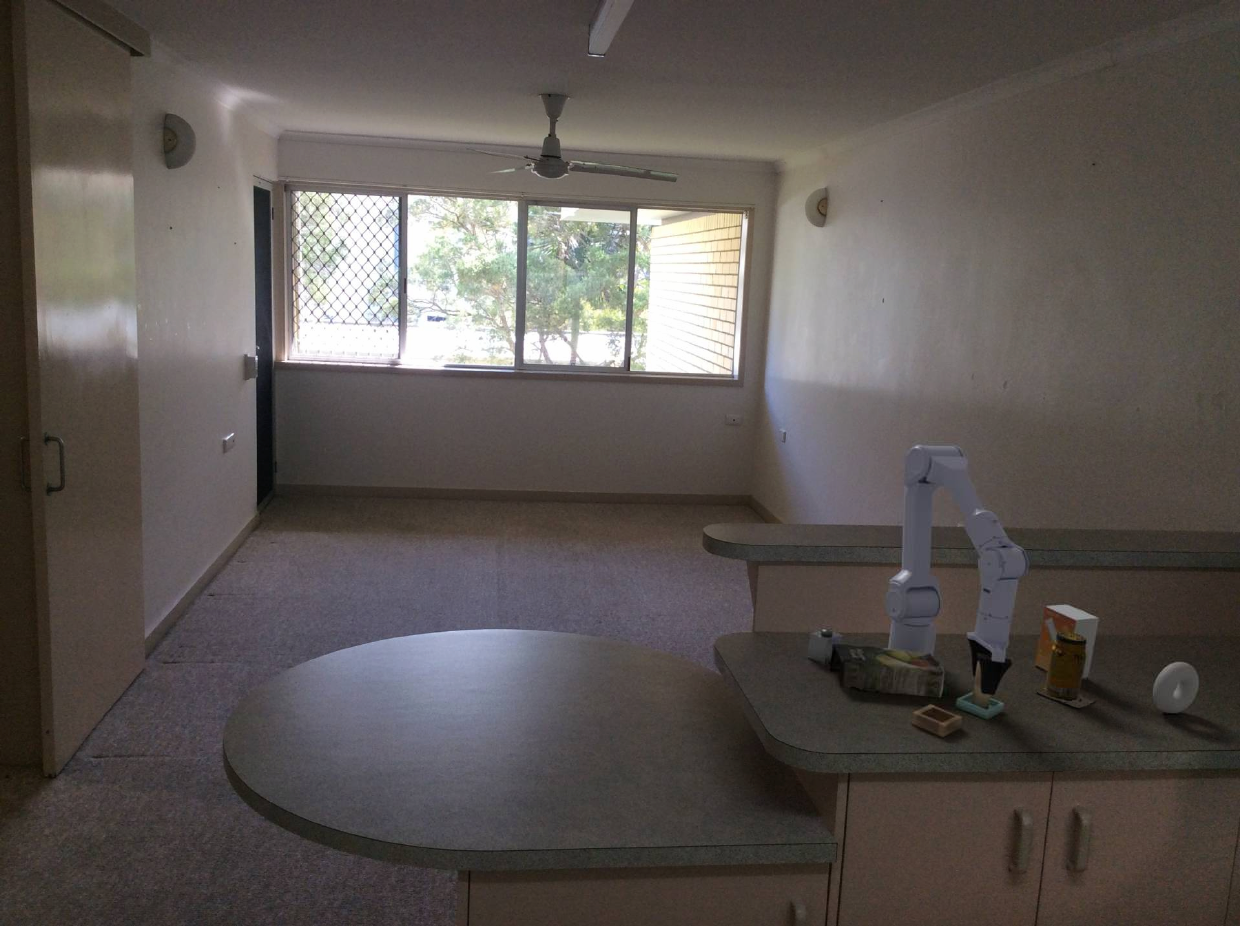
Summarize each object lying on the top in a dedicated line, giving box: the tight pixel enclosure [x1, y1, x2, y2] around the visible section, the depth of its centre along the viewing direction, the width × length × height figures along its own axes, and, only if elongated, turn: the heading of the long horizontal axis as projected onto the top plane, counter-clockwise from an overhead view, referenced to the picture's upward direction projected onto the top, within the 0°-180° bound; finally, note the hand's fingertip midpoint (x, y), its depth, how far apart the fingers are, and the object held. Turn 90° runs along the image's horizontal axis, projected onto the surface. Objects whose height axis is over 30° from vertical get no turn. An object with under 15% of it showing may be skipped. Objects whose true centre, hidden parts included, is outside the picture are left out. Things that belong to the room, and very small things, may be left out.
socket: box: [910, 704, 963, 738], centre depth 171 cm, size 6×6×2 cm
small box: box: [1034, 604, 1100, 678], centre depth 200 cm, size 8×6×13 cm
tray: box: [955, 691, 1005, 720], centre depth 180 cm, size 6×6×2 cm
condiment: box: [1044, 632, 1087, 701], centre depth 187 cm, size 7×8×12 cm
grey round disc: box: [1152, 661, 1200, 714], centre depth 185 cm, size 10×4×10 cm, turn 115°
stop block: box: [806, 627, 843, 665], centre depth 197 cm, size 5×4×6 cm
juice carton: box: [829, 643, 948, 698], centre depth 188 cm, size 20×10×6 cm, turn 90°
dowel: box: [971, 661, 992, 709], centre depth 179 cm, size 3×3×8 cm
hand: (983, 685), depth 179 cm, fingers open, 7 cm apart
